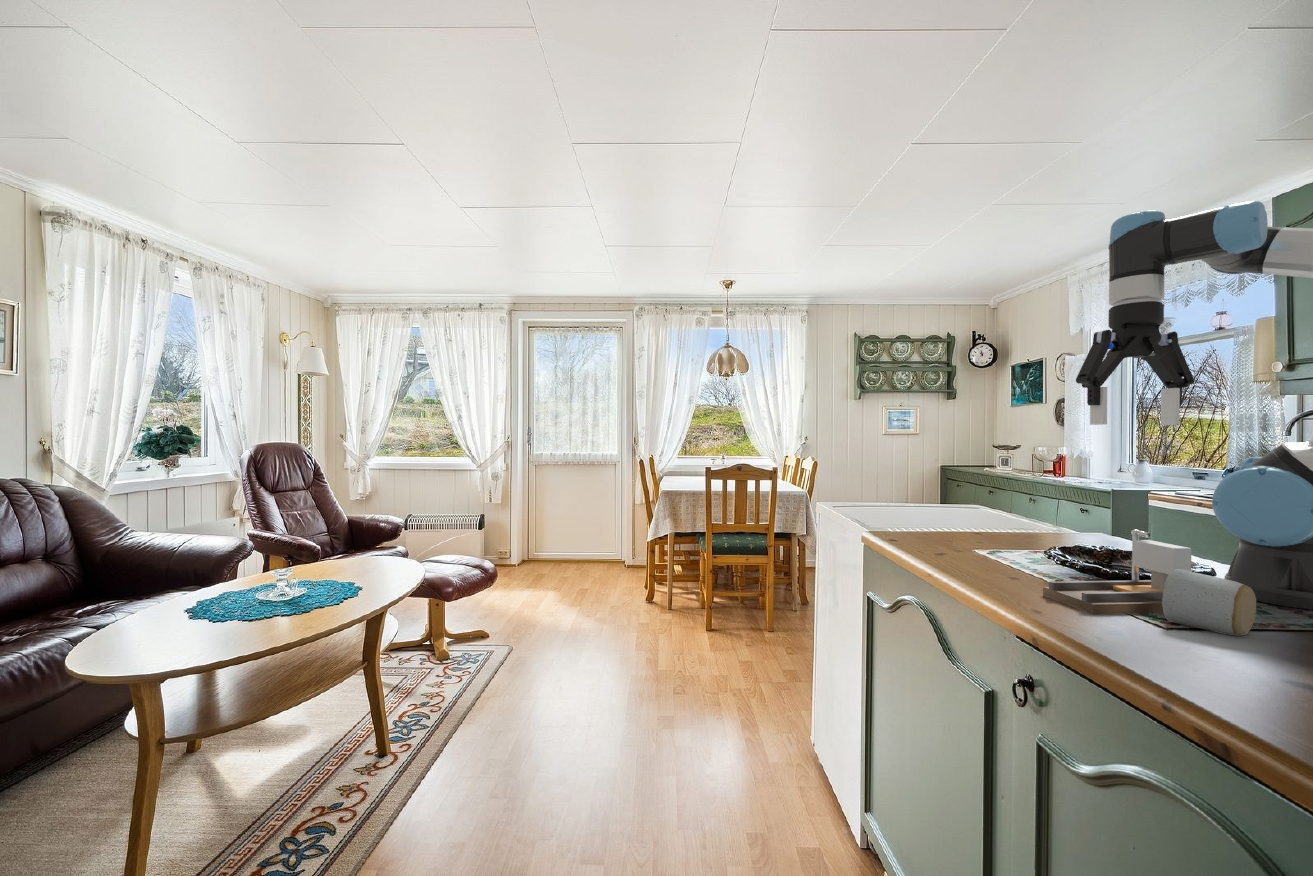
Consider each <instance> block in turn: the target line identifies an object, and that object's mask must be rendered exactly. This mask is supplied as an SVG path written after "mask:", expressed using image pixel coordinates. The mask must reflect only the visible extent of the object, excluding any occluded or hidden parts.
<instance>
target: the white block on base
mask: <svg viewBox="0 0 1313 876" xmlns="http://www.w3.org/2000/svg"><path fill="white" fill-rule="evenodd" d="M1131 540H1132V539H1131ZM1131 545H1132V547H1131V552H1132V553H1131V567H1132V566H1136V567H1139V568H1141V569H1145V570H1150V580H1151V585H1126V586H1113V589H1115V590H1119V591H1122V592H1144V591H1163V590H1164V585H1165V582H1166V580H1167V577H1168V575H1169V574H1170V573H1171V572H1172V571H1173V570H1175V569H1183V570H1187V571H1191V572H1192V548H1191V547H1186V546H1183V545H1182V546H1181V545H1176V544H1172V543H1166V542H1161V541H1156V540H1151V539H1139V540H1132V541H1131Z"/></svg>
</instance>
